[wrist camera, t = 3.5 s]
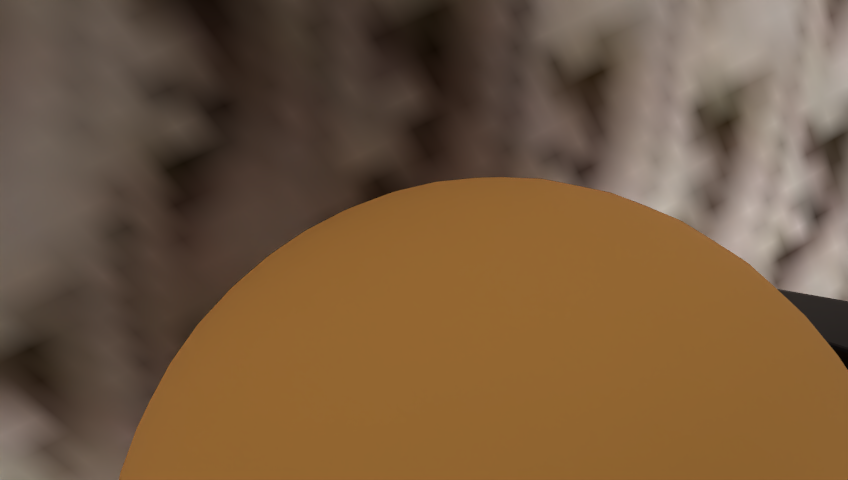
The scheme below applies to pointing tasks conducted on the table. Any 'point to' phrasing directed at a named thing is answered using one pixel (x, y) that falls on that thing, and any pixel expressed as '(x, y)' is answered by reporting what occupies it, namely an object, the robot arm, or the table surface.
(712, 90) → the table surface
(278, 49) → the table surface
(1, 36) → the table surface
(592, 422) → the ball
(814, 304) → the robot arm
